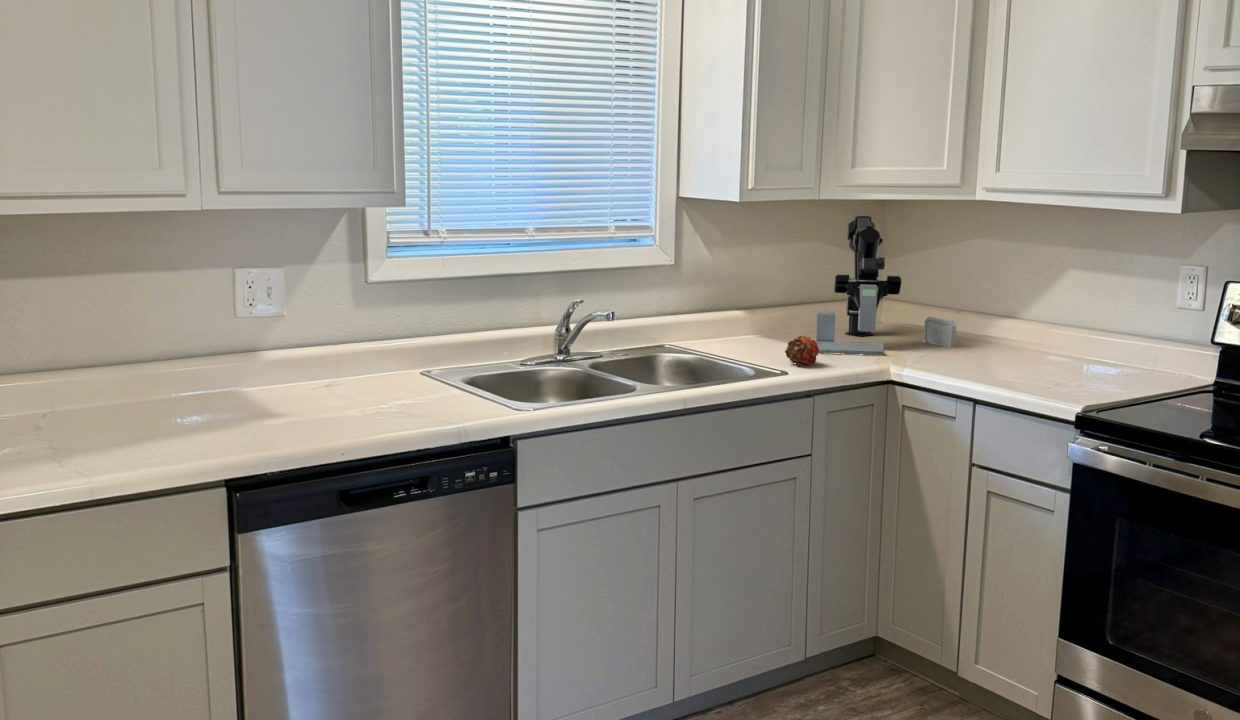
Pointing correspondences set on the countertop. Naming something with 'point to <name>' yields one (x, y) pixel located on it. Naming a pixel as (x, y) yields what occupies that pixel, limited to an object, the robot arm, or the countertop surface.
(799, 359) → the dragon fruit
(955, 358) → the countertop surface
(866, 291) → the block
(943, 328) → the light switch
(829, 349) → the rail
